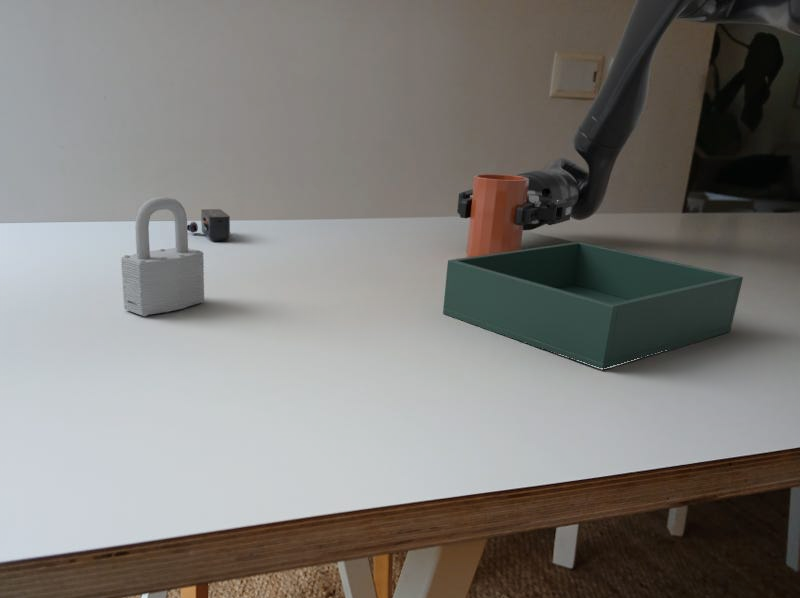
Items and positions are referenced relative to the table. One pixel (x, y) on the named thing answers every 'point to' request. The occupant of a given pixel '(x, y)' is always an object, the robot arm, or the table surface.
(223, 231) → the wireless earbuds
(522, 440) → the table surface
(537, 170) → the robot arm
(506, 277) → the tub
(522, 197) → the tumbler
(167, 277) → the padlock
